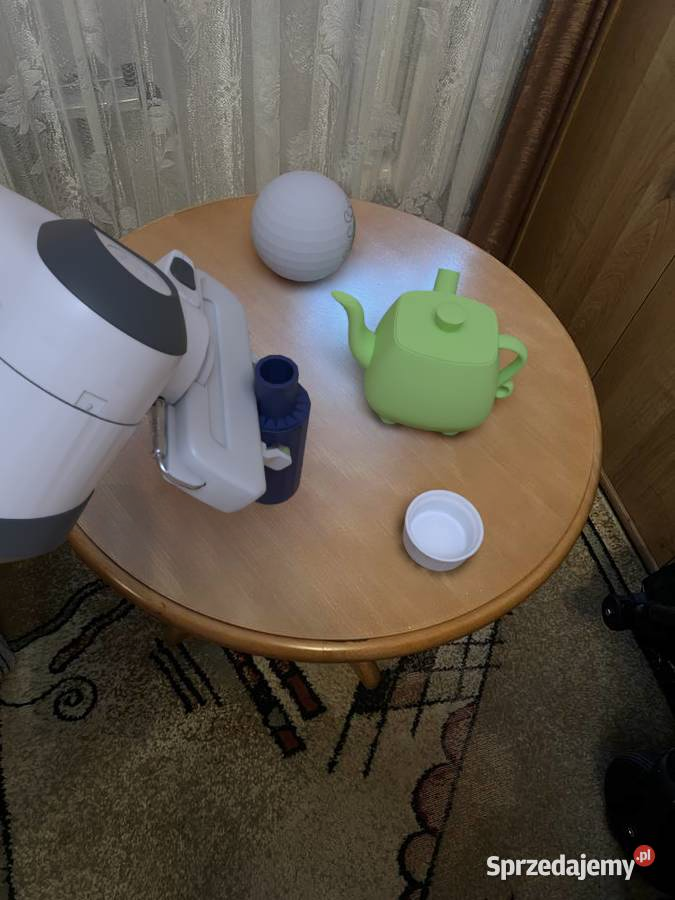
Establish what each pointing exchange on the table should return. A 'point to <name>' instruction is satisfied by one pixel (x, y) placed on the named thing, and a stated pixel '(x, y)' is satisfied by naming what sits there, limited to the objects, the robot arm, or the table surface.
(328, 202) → the decorative object
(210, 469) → the robot arm
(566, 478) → the table surface
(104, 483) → the table surface
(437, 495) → the ramekin
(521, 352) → the teapot
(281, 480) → the bottle
